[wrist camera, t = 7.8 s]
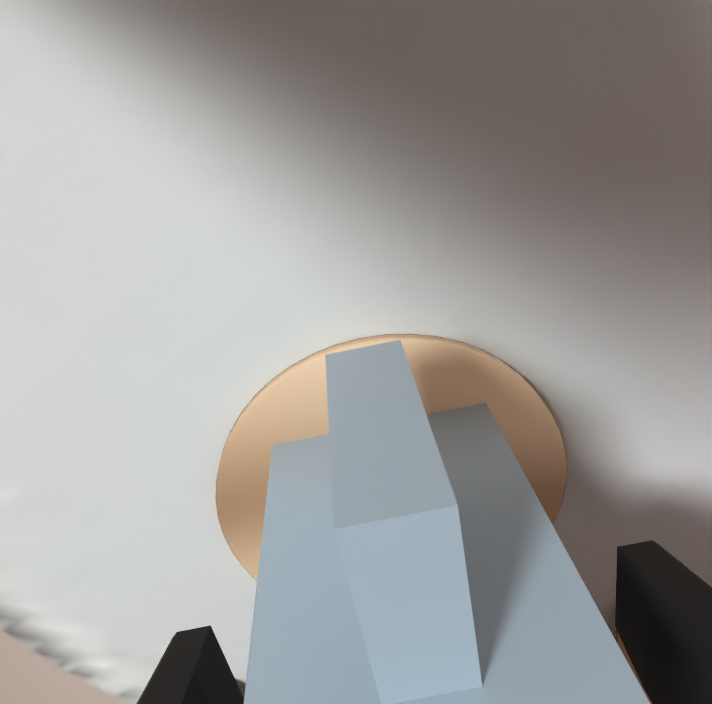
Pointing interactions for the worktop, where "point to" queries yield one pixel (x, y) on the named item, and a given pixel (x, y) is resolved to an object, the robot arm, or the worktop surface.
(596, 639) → the pale blue stepped block
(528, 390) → the coaster
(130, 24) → the worktop surface
